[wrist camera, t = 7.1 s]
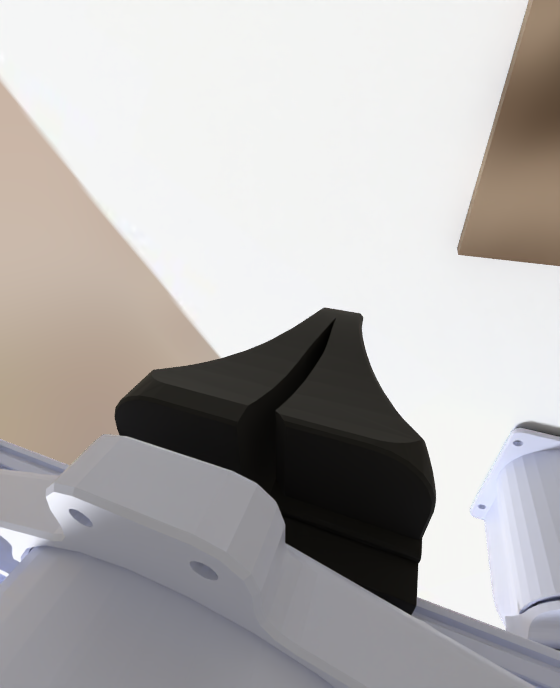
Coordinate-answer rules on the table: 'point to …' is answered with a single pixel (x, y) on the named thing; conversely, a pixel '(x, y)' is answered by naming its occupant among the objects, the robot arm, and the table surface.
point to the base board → (522, 153)
